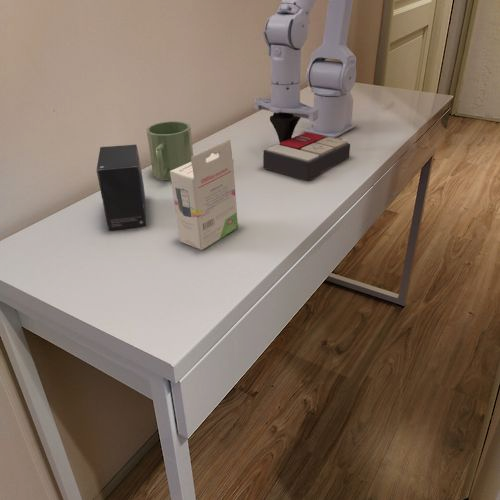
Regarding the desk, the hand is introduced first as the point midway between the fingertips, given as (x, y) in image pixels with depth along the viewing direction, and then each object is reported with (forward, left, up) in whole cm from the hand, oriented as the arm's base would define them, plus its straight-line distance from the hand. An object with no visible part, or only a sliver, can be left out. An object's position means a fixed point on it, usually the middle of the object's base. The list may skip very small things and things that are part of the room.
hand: (285, 148), depth 105 cm
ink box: (+34, +10, -2) cm, 36 cm away
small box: (+37, -6, -2) cm, 37 cm away
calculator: (+1, +6, -2) cm, 7 cm away
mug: (+21, -12, -2) cm, 24 cm away
